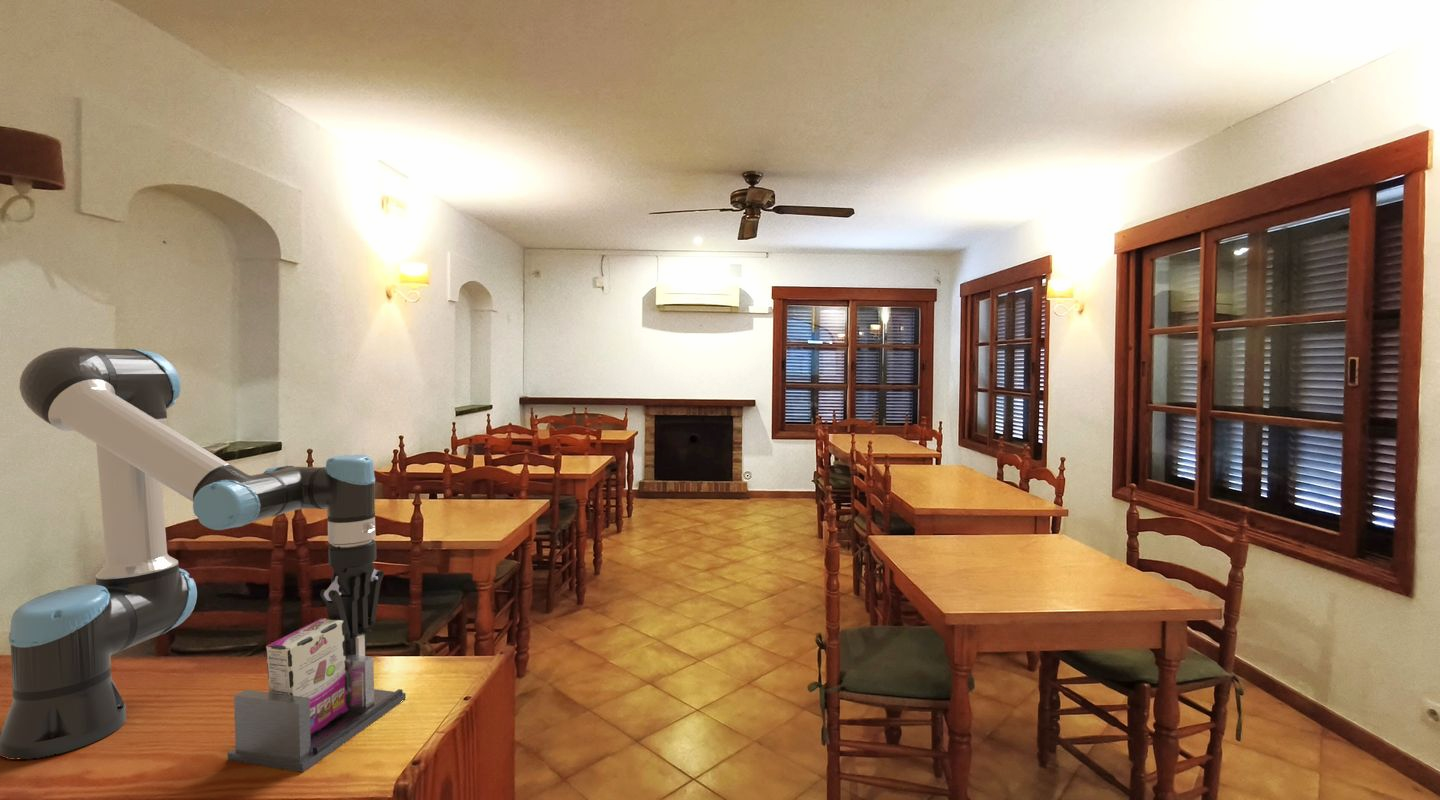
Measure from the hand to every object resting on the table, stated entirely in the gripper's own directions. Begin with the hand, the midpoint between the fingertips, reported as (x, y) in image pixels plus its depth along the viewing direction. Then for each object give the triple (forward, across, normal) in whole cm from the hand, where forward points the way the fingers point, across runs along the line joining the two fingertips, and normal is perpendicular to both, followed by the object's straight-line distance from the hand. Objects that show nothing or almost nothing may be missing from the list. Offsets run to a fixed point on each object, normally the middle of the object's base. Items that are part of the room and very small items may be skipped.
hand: (356, 670), depth 120 cm
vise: (+7, -7, 0) cm, 10 cm away
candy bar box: (+5, -10, 0) cm, 11 cm away
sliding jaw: (+5, 0, 0) cm, 5 cm away
